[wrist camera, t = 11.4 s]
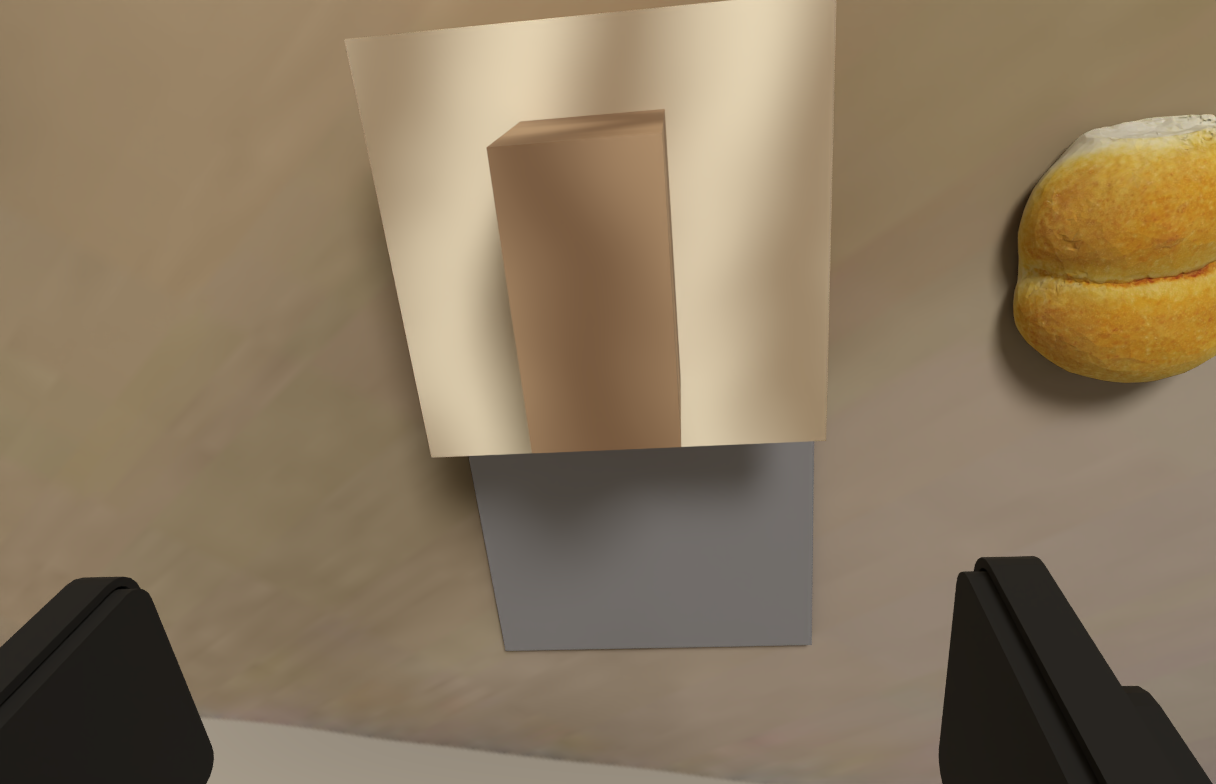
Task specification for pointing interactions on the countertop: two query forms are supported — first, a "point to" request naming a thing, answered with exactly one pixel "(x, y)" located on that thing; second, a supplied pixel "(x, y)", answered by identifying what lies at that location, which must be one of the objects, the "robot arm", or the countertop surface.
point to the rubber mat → (650, 546)
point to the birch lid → (610, 224)
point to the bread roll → (1123, 252)
